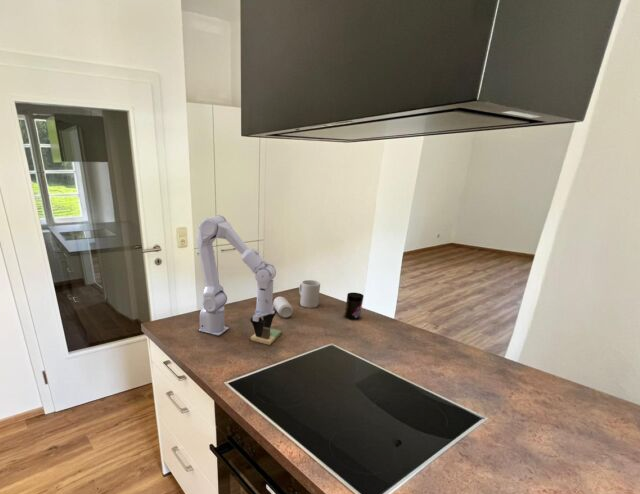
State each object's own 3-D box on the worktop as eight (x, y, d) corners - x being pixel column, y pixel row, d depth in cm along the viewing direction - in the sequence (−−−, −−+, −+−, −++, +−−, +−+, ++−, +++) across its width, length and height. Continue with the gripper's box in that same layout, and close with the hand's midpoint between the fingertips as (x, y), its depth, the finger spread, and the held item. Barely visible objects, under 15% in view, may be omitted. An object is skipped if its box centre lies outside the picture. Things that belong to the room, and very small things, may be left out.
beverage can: (277, 317, 155) (270, 306, 166) (290, 320, 156) (283, 309, 167) (281, 303, 153) (275, 294, 163) (295, 306, 154) (287, 297, 165)
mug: (321, 306, 171) (324, 283, 166) (307, 309, 167) (310, 286, 162) (305, 298, 180) (307, 277, 176) (291, 301, 176) (293, 279, 172)
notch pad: (256, 334, 140) (256, 332, 140) (262, 329, 145) (262, 326, 145) (275, 339, 137) (275, 336, 137) (281, 333, 142) (281, 330, 141)
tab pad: (250, 340, 136) (250, 327, 134) (258, 332, 142) (259, 320, 140) (269, 344, 133) (270, 332, 131) (277, 337, 139) (278, 324, 137)
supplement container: (349, 320, 155) (352, 298, 151) (341, 314, 161) (344, 293, 157) (363, 319, 157) (366, 297, 152) (354, 313, 162) (358, 292, 158)
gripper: (266, 306, 122) (264, 342, 128) (282, 294, 134) (280, 327, 140) (248, 303, 125) (246, 337, 131) (265, 291, 137) (263, 323, 142)
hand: (262, 332), depth 135 cm, fingers open, 7 cm apart
